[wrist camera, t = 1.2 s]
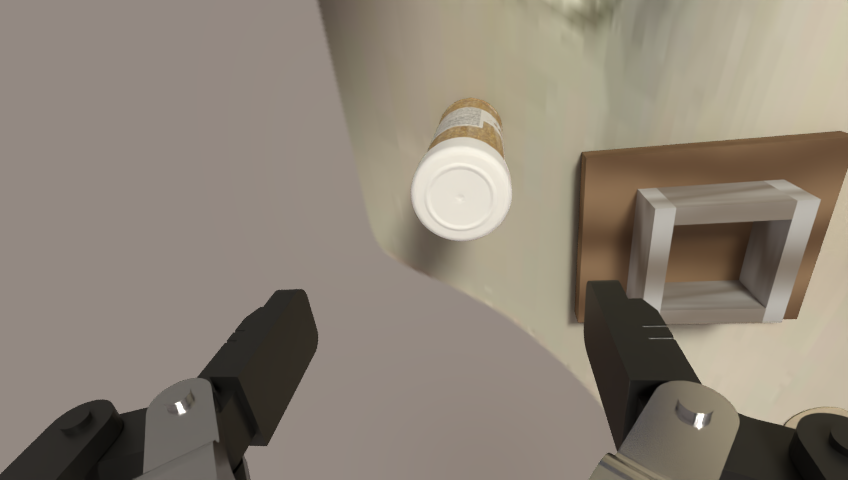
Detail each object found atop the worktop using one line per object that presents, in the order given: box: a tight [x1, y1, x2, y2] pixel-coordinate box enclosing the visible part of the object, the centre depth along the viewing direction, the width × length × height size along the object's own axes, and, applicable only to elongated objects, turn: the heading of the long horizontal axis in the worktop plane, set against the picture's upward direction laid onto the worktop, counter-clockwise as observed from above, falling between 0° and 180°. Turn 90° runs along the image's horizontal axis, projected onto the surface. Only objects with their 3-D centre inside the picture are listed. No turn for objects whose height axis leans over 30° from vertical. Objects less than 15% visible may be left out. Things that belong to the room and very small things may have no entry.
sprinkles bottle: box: [411, 98, 512, 241], centre depth 25 cm, size 5×5×13 cm
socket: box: [575, 131, 848, 324], centre depth 30 cm, size 14×16×5 cm
